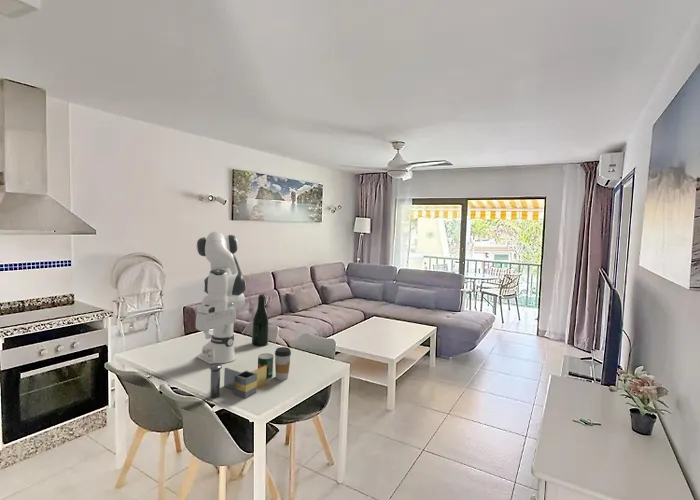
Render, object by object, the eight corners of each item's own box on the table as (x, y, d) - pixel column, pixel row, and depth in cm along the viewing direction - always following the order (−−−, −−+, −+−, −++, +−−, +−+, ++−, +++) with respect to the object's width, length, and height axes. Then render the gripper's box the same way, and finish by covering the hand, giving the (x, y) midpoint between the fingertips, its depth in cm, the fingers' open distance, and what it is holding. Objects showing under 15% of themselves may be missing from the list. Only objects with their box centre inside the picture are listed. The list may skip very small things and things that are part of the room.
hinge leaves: (218, 388, 180) (219, 370, 179) (245, 376, 195) (245, 359, 194) (245, 398, 172) (246, 379, 171) (270, 385, 186) (271, 367, 186)
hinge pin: (206, 396, 171) (207, 366, 170) (215, 392, 176) (216, 363, 175) (214, 399, 169) (215, 369, 168) (223, 395, 173) (224, 365, 172)
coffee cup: (286, 381, 191) (287, 353, 190) (271, 379, 193) (272, 351, 192) (292, 375, 200) (293, 348, 199) (277, 373, 201) (278, 346, 200)
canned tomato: (256, 379, 192) (256, 358, 192) (258, 373, 200) (259, 353, 200) (271, 379, 193) (272, 358, 192) (273, 373, 201) (274, 353, 200)
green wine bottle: (265, 347, 242) (267, 296, 240) (249, 346, 242) (251, 295, 240) (269, 342, 252) (271, 293, 250) (254, 341, 253) (256, 292, 251)
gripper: (230, 301, 180) (229, 329, 181) (193, 308, 162) (192, 340, 163) (239, 303, 177) (238, 332, 178) (203, 310, 159) (202, 342, 160)
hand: (216, 336), depth 170 cm, fingers open, 8 cm apart
